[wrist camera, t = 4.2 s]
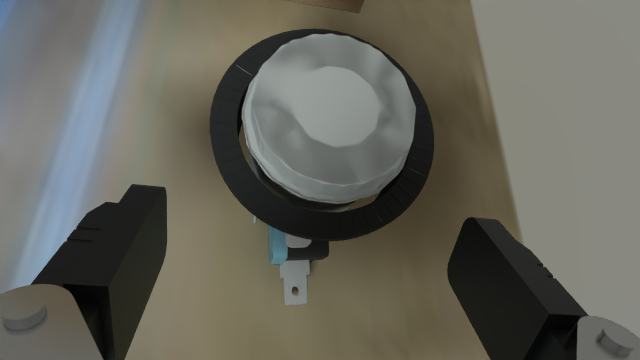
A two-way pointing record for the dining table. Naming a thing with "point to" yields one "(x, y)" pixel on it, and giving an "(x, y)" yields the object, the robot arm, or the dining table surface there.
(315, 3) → the tray
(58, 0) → the dining table surface
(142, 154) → the dining table surface
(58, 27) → the dining table surface
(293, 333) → the dining table surface
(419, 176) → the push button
